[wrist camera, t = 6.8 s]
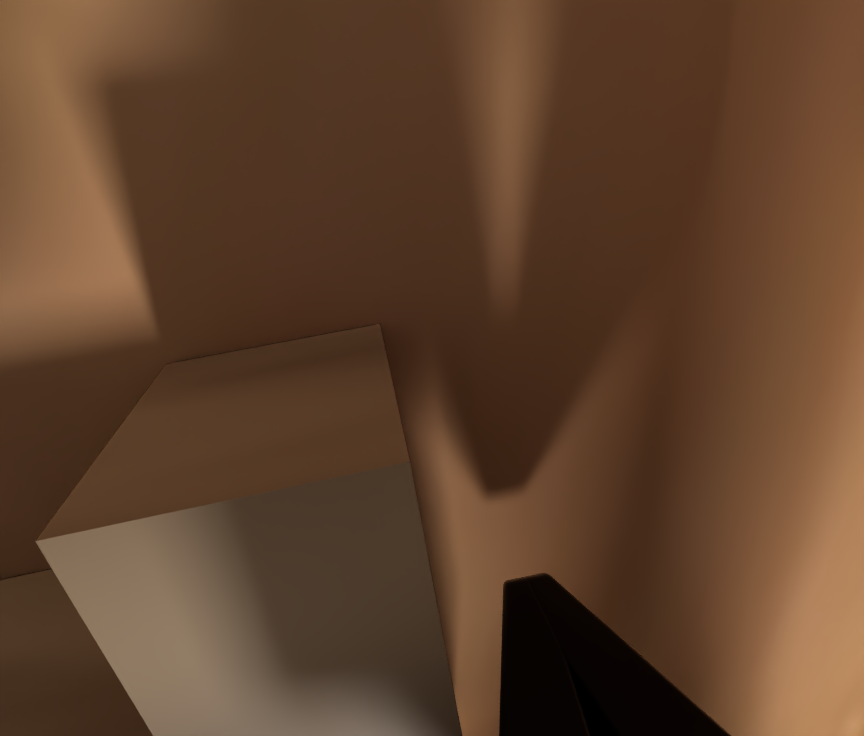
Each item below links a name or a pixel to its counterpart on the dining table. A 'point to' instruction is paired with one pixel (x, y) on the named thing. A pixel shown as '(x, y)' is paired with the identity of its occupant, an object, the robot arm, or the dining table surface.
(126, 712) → the t block
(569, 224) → the dining table surface
